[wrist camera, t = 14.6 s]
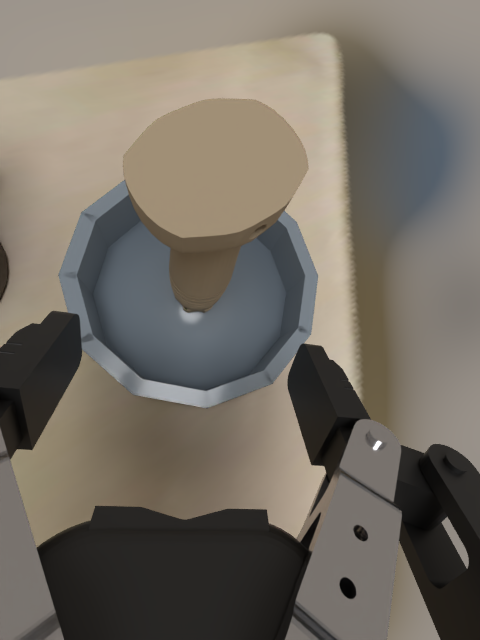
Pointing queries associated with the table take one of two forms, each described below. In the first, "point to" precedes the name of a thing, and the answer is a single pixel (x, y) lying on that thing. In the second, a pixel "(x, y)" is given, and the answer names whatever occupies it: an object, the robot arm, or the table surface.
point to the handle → (212, 187)
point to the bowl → (172, 321)
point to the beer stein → (3, 270)
